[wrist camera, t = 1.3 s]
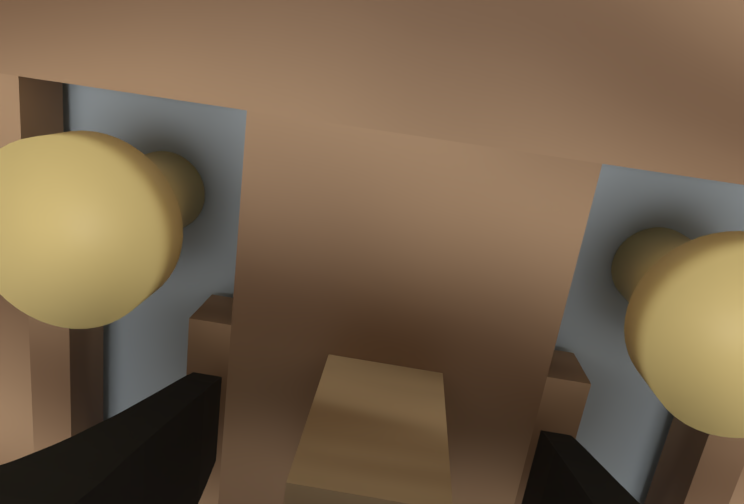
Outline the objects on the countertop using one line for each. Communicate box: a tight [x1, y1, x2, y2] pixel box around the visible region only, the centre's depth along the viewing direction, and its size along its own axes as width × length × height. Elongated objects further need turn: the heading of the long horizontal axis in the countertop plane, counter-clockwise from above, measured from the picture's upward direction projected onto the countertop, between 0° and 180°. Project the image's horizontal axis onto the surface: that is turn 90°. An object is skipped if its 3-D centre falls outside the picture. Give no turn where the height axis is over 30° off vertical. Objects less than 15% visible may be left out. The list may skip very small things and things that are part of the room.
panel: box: [0, 0, 744, 504], centre depth 11 cm, size 16×20×5 cm
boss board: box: [0, 83, 744, 504], centre depth 12 cm, size 22×20×5 cm
